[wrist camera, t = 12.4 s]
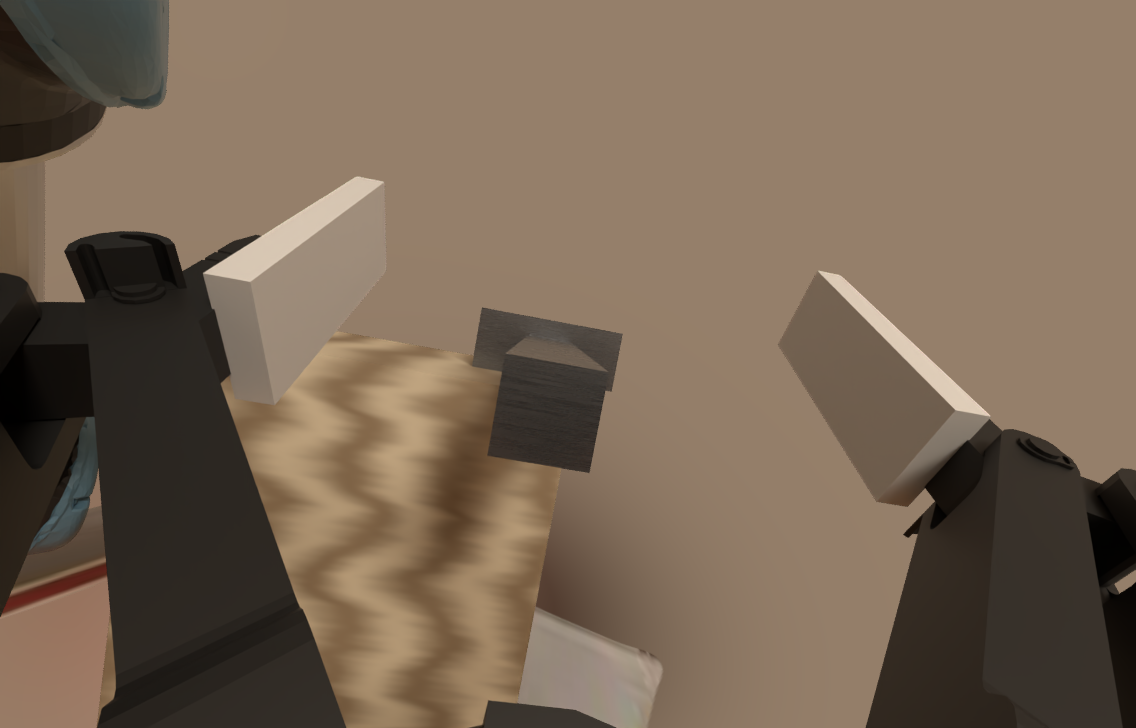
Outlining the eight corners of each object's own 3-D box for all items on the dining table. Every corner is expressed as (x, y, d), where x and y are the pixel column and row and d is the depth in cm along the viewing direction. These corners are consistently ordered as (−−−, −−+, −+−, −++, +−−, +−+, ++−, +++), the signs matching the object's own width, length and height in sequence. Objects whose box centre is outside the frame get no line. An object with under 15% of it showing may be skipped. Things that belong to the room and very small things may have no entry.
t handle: (359, 434, 16) (382, 283, 15) (479, 361, 45) (488, 309, 45) (709, 492, 17) (739, 350, 16) (604, 384, 46) (614, 332, 46)
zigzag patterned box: (93, 755, 33) (144, 323, 30) (260, 591, 53) (298, 322, 50) (499, 797, 35) (574, 398, 33) (512, 625, 55) (560, 369, 53)
